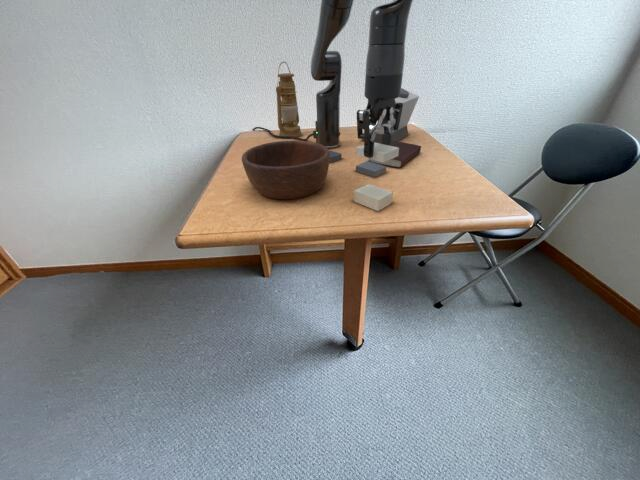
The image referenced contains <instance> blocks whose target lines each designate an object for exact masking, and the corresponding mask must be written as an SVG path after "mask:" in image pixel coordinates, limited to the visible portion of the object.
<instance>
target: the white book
mask: <svg viewBox="0 0 640 480" xmlns="http://www.w3.org/2000/svg"><path fill="white" fill-rule="evenodd" d="M355 152H356V153H355V155H356V156H358V157H361V158H365V159H368V160H369V159H372V160H375V161H379V162H386V161H388V160H390V159H393V158H395V157H397V156H398V153H399V148H398V147H393V146H389V145H384V144H380V143H376V142H374V152H373V157H371V158H368V157H365V156H364V144H362V145H359V146H356V151H355Z"/></svg>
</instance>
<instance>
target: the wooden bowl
mask: <svg viewBox="0 0 640 480" xmlns="http://www.w3.org/2000/svg"><path fill="white" fill-rule="evenodd" d="M329 150H330V148H327V147H325V146H324V145H322V144H319V143H316V141H315V142H314V141H308V140H306V141H302V140H281V141H272V142H271V141H270V142H266V143H262V144H259V145H256V146H253V147H250V148H249V149H247V150H246V151H245V152H243V154H242V156H241V163H242V166H243V168H244V172H245V175H246V178H247V180H248V181H249V184H250V185H251V186H252V188H254V190H255V191H256V192H257V193H258V194H260V195H262V196H263V197H266V198H270V199H273V200H295V199H299V198H300V199H301V198H304V197H308V196H310V195H313V194H315V193H316V192H317V191H319V190H320V189H321V188H322V187H323V185H324V183H325V181H326V179H327V176H328V172H329V167H330V163H329V161H330V151H331V150H330V151H329Z"/></svg>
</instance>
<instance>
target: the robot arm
mask: <svg viewBox="0 0 640 480" xmlns="http://www.w3.org/2000/svg"><path fill="white" fill-rule="evenodd" d="M354 2H355V0H321V1H320V9H319V17H318V23H317V31H316V36H315V40H314V45H313V49H312V54H311V60H310V76H311V77H312V79H313V81H316V82H327V81H329V83H328V85H327V86H326V87H325V88H323V89H321V90H319V91H317V92H316V94H315V101H316V103H315V104H316V105H315V106H316V120H315V122H314V123H315V125H314V127H315V129H314V130H313V132H312V133H310V134H309V135H308V136H307V137H306V138H301V137H292V136H280V135H277V134H274V133H273V132H271V130H270V129H268V128H265V127H261V126H255V127H254V128H252V131H253V132H254V131H255V130H259V129H260V130H263V131H266V132H268V134H269V135H271V136H272V137H274V138H279V139H294V140H297V141H308V140H309V139H310V137H313V139H315V143H319V144H322V145H324V146H325V147H327V148H328V149H334V148H337V147H339V146H340V143H341V142H340V137H341V132H340V125H341V123H340V122H341V121H340V120H341V119H340V118H341V115H340V114H341V91H342V90H341V89H342V88H341V87H342V71H343V70H342V69H343V64H342V63H343V62H342V61H343V59H342V56H341V55H342V54H341V53H340V52H339V51H338V50H329V47H330V46H331V44H332V43H333V42H334V41H335V39H336V38H337V37H338V36H339V35H340V33H341V32H342V31H343V30H344V29H345V28H346V26H347V24H348V22H349V20H350V17H351V13H352V9H353V5H354ZM413 2H414V0H392V1H390V2H387V3H384V4H381V5H378V6H375V7H374V8H373V9H372V10H371V12H370V15H369V16H370V17H369V30H368V47H367V54H366V60H365V62H366V63H365V76H364V77H365V80H364V97H365V99H367V104H366V107H365V108H364V109H358V110H357V111H356V131H357V139H359V140H362V139H363V140H364V141H363V145H364V156H365V157H368V158H371V157H373V152H374V139H375V136H376V133H377V131H379V130H380V127H381V126H382V131H383V133H384V134H382V142H381V144H384V145H389V146H391V138H392V135H393V133H394V131H395V130H396V131H397V130H398V128H399V123H400V118H401V113H402V108H403V103H399V102H395V99H396V98H398V97H399V96H400V93H401V88H402V86H403V85H402V83H403V76H404V66H405V58H406V40H407V39H406V38H407V30H408V23H409V17H410V12H411V8H412V5H413ZM394 119H396V121H395V125H394ZM370 123H371V124H372V125H375V126H371V125H370ZM370 130H372V132H371V135H370ZM365 157H364V158H365ZM368 158H367V159H368Z"/></svg>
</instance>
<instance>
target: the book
mask: <svg viewBox="0 0 640 480" xmlns="http://www.w3.org/2000/svg"><path fill="white" fill-rule="evenodd" d="M391 146H393V147H398V148H399V153H398V156H397V157H395V158H393V159H390V160H388V161H386V162H379V161H375V160H372V159H368V161H369V162H372V163H376V164H379V165H383V166H386V167H387V166H388V167H393V168H402V167H403V166H405V164H407V163H408V162H410V161H411V160H412V159H414V158H415V157H416V156H418V155H419V154H420V152H421V149H422V146H421V145H418V144H414V143H408V142H403V141H391Z"/></svg>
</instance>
